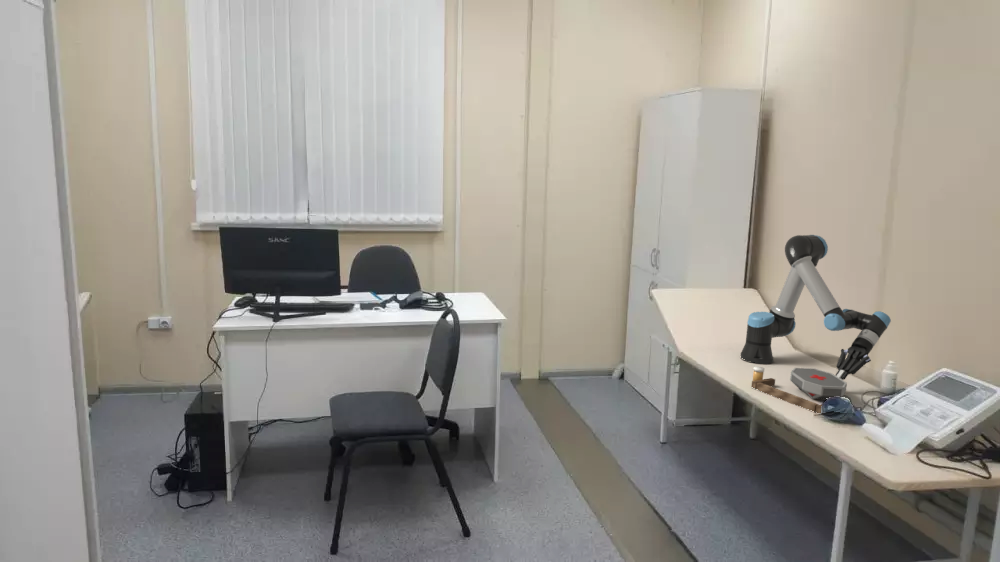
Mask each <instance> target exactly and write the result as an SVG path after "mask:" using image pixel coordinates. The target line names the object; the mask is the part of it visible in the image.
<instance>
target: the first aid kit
mask: <svg viewBox="0 0 1000 562" xmlns="http://www.w3.org/2000/svg"><path fill="white" fill-rule="evenodd" d="M789 381H790V382H792V384H794V385H795V386H796V387H797V388H798V390H800V389H801V390H800V391H802V392H803V393H805V394H806V395H808V397H810V399H812V400H826V398H829V397H834V396H841V397H840V398H842V397H844V395H845V394H846V391H847V386H848V382H846V381H845V380H842V379H840V378H839V377H837V376H836V374H833V373H832V372H829V371H825V370H822V369H819V368H813V367H811V368H809V367H808V368H807V367H794V368H793V369H791V372H790V377H789Z"/></svg>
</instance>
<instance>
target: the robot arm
mask: <svg viewBox="0 0 1000 562" xmlns="http://www.w3.org/2000/svg"><path fill="white" fill-rule="evenodd" d="M828 250H829V248H828V243H827V242H826V239H824V238H823V237H822V236H820V235H815V234H807V235H805V234H804V235H801V234H800V235H799V234H798V235H794V236H792V237H790V238H789V239H788V240H787V241H786V243H785V246H784V254H785V258H786V260H787V262H788V264H789V265H790V270H789V272H788V274H787V276H786V280H785V282H784V285H783V287H782V288H781V291H780V294H779V297H778V298H777V299H778V300H777V301H776V304H774V305H773V306H771V307H770V310H769V311H768V312H767V311H756V312H755V311H754V312H751V313H750V314H749V315H748V319H747V322H746V323H747V327H746V337H745V343H744V346H743V348H742V350H741V352H740V356H741V358H743V359H745V360H747V361H751V362H755V363H754V364H757V363H761V364H760V365H769V363H770V364H772V362H774V355H773V351H772V339H773V338H780V337H782V338H784V337H786V336H789V335H791V334H792V333H793V332H794V330H795V328H796V320H795V318H796V314H795V312H794V311H795V309H796V306H797V303H798V301H799V299H800V297H801V294H802V293H803V290H804V288H805V286H806V289H807V291H808V292H809V293H810V295H811V296H812V298H813V300H814V302H815V303H816V305H817V306H818V308H819V309H820V312H821V313H822V314H823V316H824V318H823V325H824V327H825V329H827V330H829V331H831V332H836V331H837V332H839V331H844V330H849V329H856V330H860V332H859V334H857V336H856V337H855V339H854V340H853V341H852V342H851V346H849V347H848V348H847V349H844V348H841V350H840V355H839V358H838V361H837V363H836V365H835V366H836V368H837V371H836V373H835V376H837V377H839V378H840V379H842V380H843V381H845V380H846V379H847V377H848V376H849V375H855V374H856V373H857V372H859V370H860V369H862V368H863V367H864V366H865V365H866V364H868V363H870V362H871V361H872V360H871V357H870V355H869V354H870V352H871V351H872V350H873V348H874V347H875V346H876V344H877V343H878V342H879V340H880V338H881V337H882V335H883V334H884V332H885V331H886V330H887V329H888V327H889V326H890V324H891V322H892V321H891V317H890V316H889V315H888V314H887V313H886V312H885V313H884V312H882V311H875V312H873V313H871V314H868V313H865V312H860V311H857V310H855V309H848V308H843V309H842V308H841V306H840V305H839V304H838V303H839V302H838V301H836V298H835V297H834V295H833V294H832V292H831V290H830V288H829V287H828V285H827V284H826V282H825V280H824V279H823V277H822V276H821V274H820V272H819V271H818V269H817V268H816V267H817V266H818V263H819V261H820V260H821V259H823V258H825V257H826V256H827V254H828V252H829V251H828ZM740 356H739V357H740ZM741 358H740V359H741ZM747 361H746V362H747ZM751 362H750V363H751Z"/></svg>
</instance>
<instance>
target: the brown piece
mask: <svg viewBox="0 0 1000 562" xmlns="http://www.w3.org/2000/svg"><path fill="white" fill-rule="evenodd" d="M775 384H776V378H772V377H770V378H763V379H762V380H756V381H753V380H752V381H751V385H750V386H751V387H753V388H756V389H758V390H760V391H759V392H761V391H762V392H761V393H763V392H764V393H763V394H766V393H767V394H766V395H768V394H769V396H771V395H772V396H771V397H774V396H775V397H774V398H776V397H777V399H779V398H780V399H779V400H781V399H782V400H781V401H784V402H786V401H787V403H790V404H792V405H794V404H795V405H794V406H797V405H798V407H799V406H801V407H800V408H802V407H803V408H802V409H804V408H806V409H805V410H807V409H809V410H808V411H810V410H812V411H814V412H813V413H816V412H817V413H821V406H822V404H823V403H821V404H819V403H816V402H814V401H810V400H808V399H806V398H803V397H800V396H798V395H795V394H792V393H789V392H787V391H784V390H781V389H779V388H776V385H775ZM771 386H772V387H771ZM751 387H750V388H751ZM753 388H752V389H753ZM756 389H755V390H756ZM758 390H757V391H758ZM812 411H811V412H812ZM815 411H816V412H815ZM817 413H816V414H817Z"/></svg>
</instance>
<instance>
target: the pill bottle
mask: <svg viewBox="0 0 1000 562" xmlns="http://www.w3.org/2000/svg"><path fill="white" fill-rule="evenodd" d="M752 370H753V372H752V373H753V375H752V381H756V380H762V379H764V372H765V368H764V367H763V366H753V369H752Z"/></svg>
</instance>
